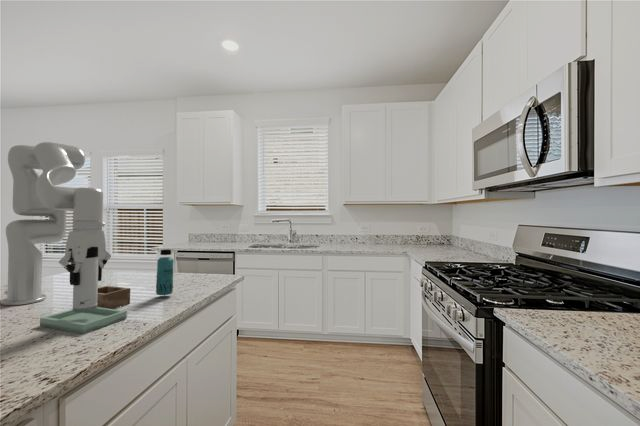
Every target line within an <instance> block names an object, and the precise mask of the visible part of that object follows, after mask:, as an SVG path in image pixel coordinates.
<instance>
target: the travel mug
mask: <svg viewBox="0 0 640 426" xmlns="http://www.w3.org/2000/svg"><path fill="white" fill-rule="evenodd" d="M86 255H87V256H86V258H85V261H84V262H83V263H81V265H80V268H79V270H78V272H80V284H79V285H77V286H76V285H72V286H73V287H72V290H73V291H72V309H73V311H74V312H86V311H91V310H94V309H96V308H97V297H98V288H99V286H98V285H99V281H98V263H99V259H98V247H91V248H88V249H87V254H86ZM75 265H76V264H75Z"/></svg>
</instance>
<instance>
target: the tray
mask: <svg viewBox="0 0 640 426" xmlns="http://www.w3.org/2000/svg"><path fill="white" fill-rule="evenodd" d="M127 316H128V315H127V310H123V309H122V310H120V309H116V308H115V309H108V308H101V307H97V308H96V309H94V310H91V311H86V312H74V311H73V308H72V309H69V310H64V311H61V312H57V313H54V314H50V315H46V316H43V317H40V318H39V327H43V328H49V329H54V330H61V331H64V332H65V331H66V332H71V333H77V334H81V335H85V334H87V333H89V332H93V331H96V330H99V329H100V328H103V327H106V326H110V325H113V324H116V323H118V322H120V321H123V320H126V319H127Z"/></svg>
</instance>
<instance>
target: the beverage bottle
mask: <svg viewBox="0 0 640 426" xmlns="http://www.w3.org/2000/svg"><path fill="white" fill-rule="evenodd" d="M160 255H161V256H162V257H159V258H158V259H156V260H157V261H156V262H157V264H156V267H157V268H156V276H155V277H156V279H155V280H156V283H155V293H156V295H157V296H168V295H171V294H172V293H173V292H174V263H175V262H174V261H175V259H173V257H171V255H172V250H171V249H170V248H169V249H165V248H163V249H161V250H160ZM168 255H170V256H168Z"/></svg>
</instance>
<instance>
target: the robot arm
mask: <svg viewBox="0 0 640 426" xmlns="http://www.w3.org/2000/svg"><path fill="white" fill-rule="evenodd" d="M85 162H86V157H85V153H84V152H83V150H82V149H80V148H79V147H77V146H73V145H67V144H62V143H57V142H50V141H44V142H40V143H38V144H36V145H35V146H33V145H26V144H25V145H24V144H23V145H22V144H18V145H14V146H12V147H10V148H9V151H8V153H7V163H8V168H9V170H10V173H11V176H12V180H13V183H12V210H13V212H14V213H15V215H19V216H24V217H48V219H27V218H26V219H16V220H12V221H10V222H8V223H7V225H6V226H5V236H6V241H7V249H8V250H7V251H8V253H7V254H8V256H7V257H8V259H7V261H8V263H7V266H8V267H7V290H6V291H5V292H4V294H5V295H6V296H7V297H6V298H4V299H2V300H0V301H1V302H0V304H1V305H3V306H19V305H20V306H22V305H28V304H33V303H34V304H35V303H38V302H41V301H44V300H46V299H47V295H46V294H43V293H42V279H43V275H42V274H43V253H42V252H41V251H40V249H39V248H37V246H35V245H37V244H51V243H59V242H61V241H62V240H64V239H65V236H66V231H67V230H66V229H67V211H72V212H73V213H72V230H69V231H68V235H67V238H66V239H67V240H66V244H65V251H64V256H63V257H61V259H60V260H59V261H58V263H59V265H60V266H62V267H63V268H64V269H65V270H67V272H68V273H69V285H70V286H73V285H76V286H77V285H79V284H80V272H78V270H79V268H80V265H81V263H83V262H84V261H85V258H86V256H87V255H86V254H87V249H88V248H91V247H98V259H99V263H98V282H101V281H102V278H103V277H102V276H103V269H104V267H105V265H106V264H107V263H108V261H109V260H110V259H111V258H112V256H111V254H110V253H109V251H108V250H107V245H106V236H105V231H104V230H103V227H105V226H106V224H105V222H103V213H104V212H103V206H104V204H103V203H104V193H103V190H101V189H100V188H96V187H69V186H59V185H62V184H65V183H69V182H70V181H72V180H73V179H74V178H75V176H76V174H77V170H79V169H82V168H83V167H84V166H85ZM37 170H40V171H42V173H41V174H39V172H38V171H37ZM75 264H76V265H75Z"/></svg>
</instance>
